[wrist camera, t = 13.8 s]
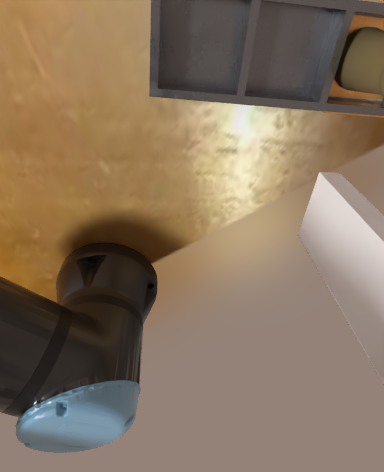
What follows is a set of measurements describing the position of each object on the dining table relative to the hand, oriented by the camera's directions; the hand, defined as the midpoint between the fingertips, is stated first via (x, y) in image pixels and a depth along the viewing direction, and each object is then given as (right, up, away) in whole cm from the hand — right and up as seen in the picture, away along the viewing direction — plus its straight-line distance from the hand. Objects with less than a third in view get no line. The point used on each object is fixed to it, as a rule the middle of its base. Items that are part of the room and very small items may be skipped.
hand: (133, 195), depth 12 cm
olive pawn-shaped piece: (+20, +17, +23) cm, 35 cm away
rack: (+12, +18, +23) cm, 32 cm away
